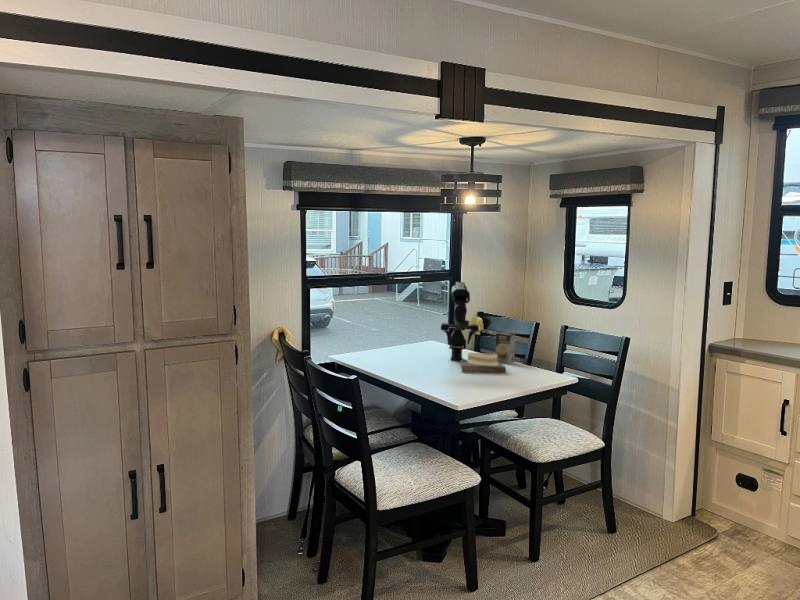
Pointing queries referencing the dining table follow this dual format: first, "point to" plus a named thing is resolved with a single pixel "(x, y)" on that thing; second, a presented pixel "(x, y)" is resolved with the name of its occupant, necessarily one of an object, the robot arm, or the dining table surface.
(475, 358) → the tan rectangular panel
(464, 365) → the floor board
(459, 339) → the robot arm
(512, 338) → the coffee box
